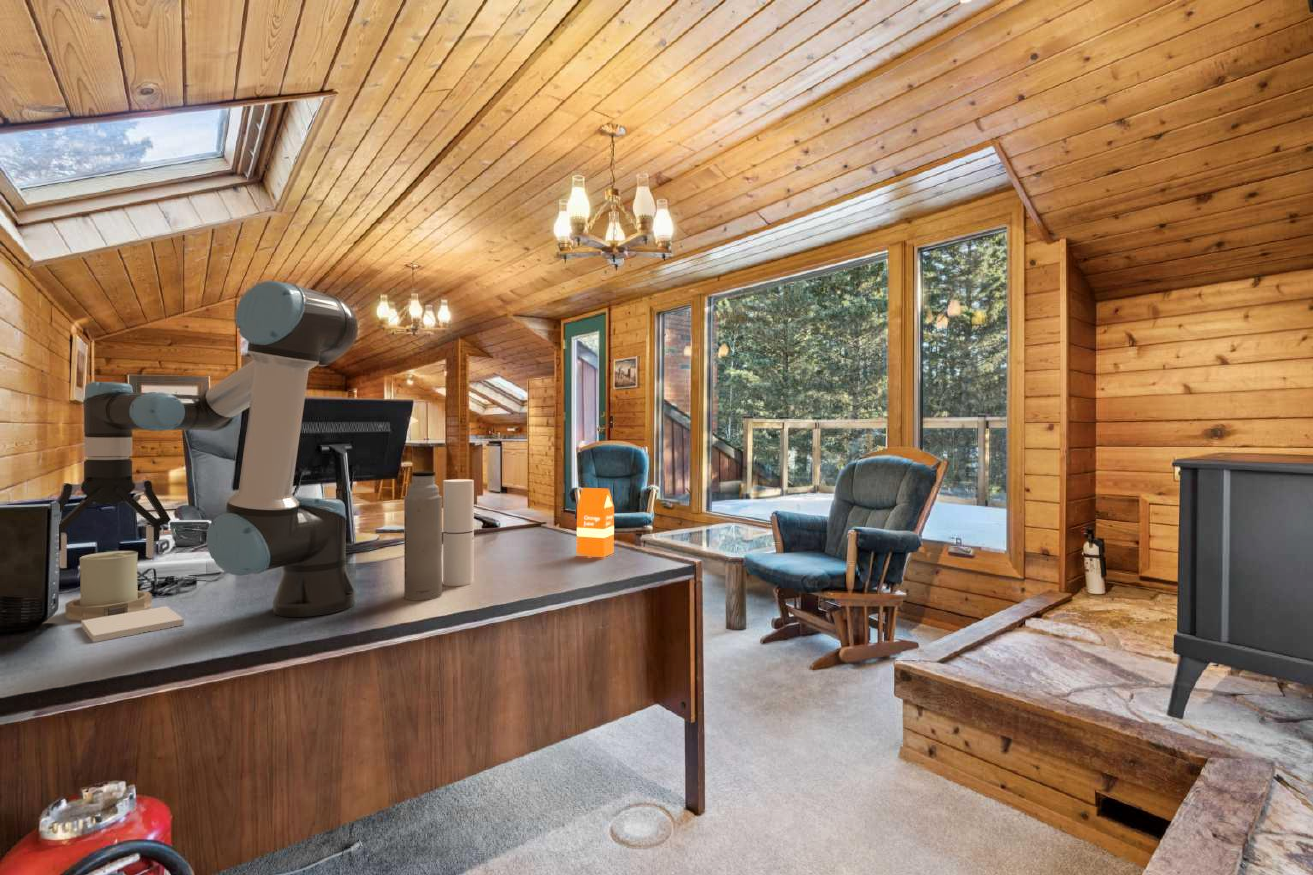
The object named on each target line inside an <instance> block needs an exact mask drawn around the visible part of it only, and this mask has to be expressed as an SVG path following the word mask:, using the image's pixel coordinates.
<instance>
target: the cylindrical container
mask: <svg viewBox="0 0 1313 875" xmlns="http://www.w3.org/2000/svg"><path fill="white" fill-rule="evenodd" d="M442 481H443V482H442V484H443V485H442V486H443V487H442V585H444V586H448V587H460V586H461V587H463V586H467V585H471V584H473V583H474V580H475V579H474V577H475V576H474V574H475V573H474V572H475V571H474V569H475V568H474V564H475V563H474V562H475V560H474V559H475V558H474V554H475V553H474V552H475V551H474V550H475V549H474V548H475V536H474V534H475V532H474V531H475V529H474V528H475V527H474V526H475V520H474V519H475V513H474V512H475V507H474V506H475V496H474V495H475V494H474V493H475V491H474V490H475V486H474V485H475V481H474V479H470V478H469V479H464V478H463V479H462V478H459V479H458V478H457V479H456V478H455V479H444V480H442Z"/></svg>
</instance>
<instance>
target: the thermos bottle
mask: <svg viewBox="0 0 1313 875" xmlns="http://www.w3.org/2000/svg"><path fill="white" fill-rule="evenodd" d="M411 476H412V478H411V484H410V485H409V486H408V487H407V490H406V493H407V495H406V496H404V501H403V502H404V503H403V504H404V505H403V508H404V509H403V510H404V512H403V513H404V515H403V517H404V520H403V521H404V522H403V523H404V526H403V527H404V532H403V533H404V537H403V538H404V545H403V546H404V548H403V549H404V553H403V554H404V556H403V557H404V559H403V560H404V561H403V562H404V565H403V566H404V568H403V569H404V571H403V572H404V578H403V579H404V581H403V582H404V583H403V584H404V587H403V590H404V591H403V593H404V597H403V598H404V599H406V600H409V601H426V600H427V601H428V600H434V599H436V598H439V597H440V596H442V594H443V495H440V494H439V493H440V487H439V485H437V484H436V481H435V480H436V479H435V476H436V472H435V471H426V470H425V471H424V470H423V471H414V472H413V471H412V472H411Z"/></svg>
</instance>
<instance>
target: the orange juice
mask: <svg viewBox="0 0 1313 875" xmlns="http://www.w3.org/2000/svg"><path fill="white" fill-rule="evenodd" d="M614 518H615V506H614V502H613V498H612V495H611V492H610V488H598V487H595V488H593V487H582V489H581V493H580V496H579V500H578V502H577V506H576V555H577V554H580V555H589V556H598V557H605V556H607V555H609V554H612V553H614V552H615V550H614V549H615V547H614V546H615V544H614V543H615V541H614V540H615V539H614V538H615V537H614V536H615V519H614ZM612 555H613V554H612Z"/></svg>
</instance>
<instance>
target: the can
mask: <svg viewBox="0 0 1313 875" xmlns="http://www.w3.org/2000/svg"><path fill="white" fill-rule="evenodd" d="M138 555H139V552H138V551H135V550H115V551H105V552H104V551H103V552H96V553H90V554H86V555H82V556H81V557H80V556H79V573H80V581H79V582H80V583H79V584H80V586H79V587H80V598H81V606H86V607H88V606H102V605H110V604H117V603H123V602H127V601H131V600H135V599H138V591H139V590H138Z"/></svg>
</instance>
